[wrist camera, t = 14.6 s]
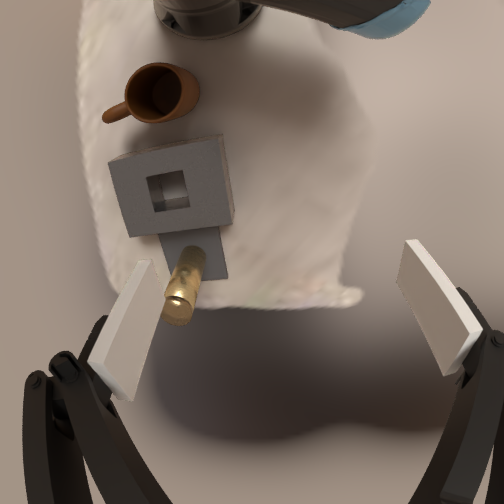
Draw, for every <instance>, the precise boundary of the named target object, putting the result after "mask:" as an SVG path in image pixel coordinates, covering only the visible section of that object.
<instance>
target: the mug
mask: <svg viewBox="0 0 504 504" xmlns="http://www.w3.org/2000/svg"><path fill="white" fill-rule="evenodd" d="M199 93H200V89H199V84H198V81H197V80H196V78H195V77H194V76H193V75H192V74H191V73H190V72H188V71H187V70H185V69H182V68H180V67H177V66H175V65H172V64H168V63H151V64H147V65H145V66H143V67H141V68H140V69H138V70H137V71H136V72H135V73H134V74H133V75H132V76H131V78H130V79H129V81H128V83H127V85H126V89H125V101H124V102H122V103H120V104H118V105H116V106H114V107H112V108H110V109H108V110H107V111H105V112H104V113H103V115H102V120H103V122H105V123H107V124H109V123H113V122H116V121H118V120H121V119H123V118H125V117H127V116H129V115H132V116H134V117H135V118H136V119H137V120H139V121H142V122H145V123H162V122H166V121H169V120H173V119H176V118H179V117H182V116H184V115H185V114H187V113H189V112H190V111H191V110H192V109H193V108H194V106H195V105H196V103H197V101H198V98H199Z"/></svg>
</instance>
